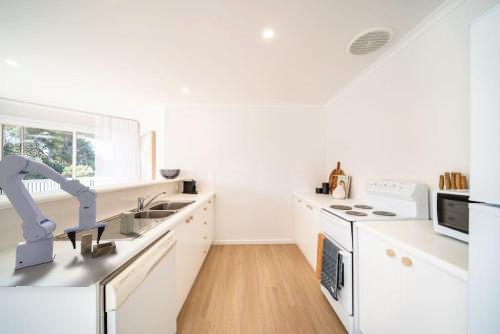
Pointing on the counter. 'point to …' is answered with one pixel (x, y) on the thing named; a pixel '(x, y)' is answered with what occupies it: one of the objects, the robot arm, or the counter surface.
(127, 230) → the skincare box
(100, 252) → the walnut holder
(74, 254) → the counter surface
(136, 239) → the counter surface
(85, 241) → the beech peg
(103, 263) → the counter surface
